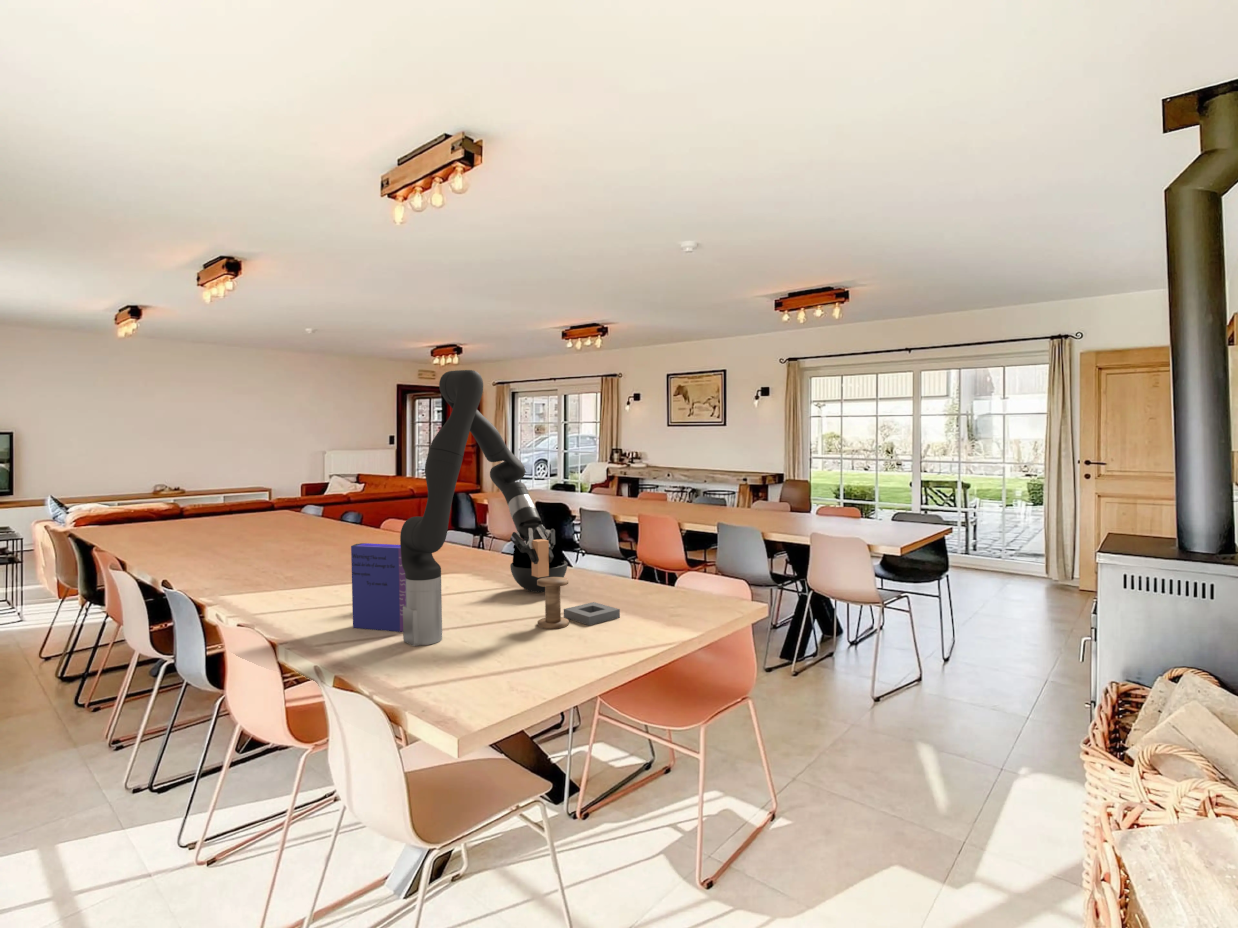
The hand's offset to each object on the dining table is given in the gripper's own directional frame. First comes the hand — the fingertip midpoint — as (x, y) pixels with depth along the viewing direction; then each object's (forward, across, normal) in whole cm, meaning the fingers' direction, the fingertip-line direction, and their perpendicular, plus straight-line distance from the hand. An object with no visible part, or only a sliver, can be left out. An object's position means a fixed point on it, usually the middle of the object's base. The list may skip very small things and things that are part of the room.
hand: (543, 561), depth 180 cm
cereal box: (-7, -36, +36) cm, 51 cm away
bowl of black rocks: (-17, +21, +45) cm, 53 cm away
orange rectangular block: (+2, 0, +5) cm, 5 cm away
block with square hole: (+10, +19, +18) cm, 28 cm away
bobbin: (+10, +6, +18) cm, 21 cm away
